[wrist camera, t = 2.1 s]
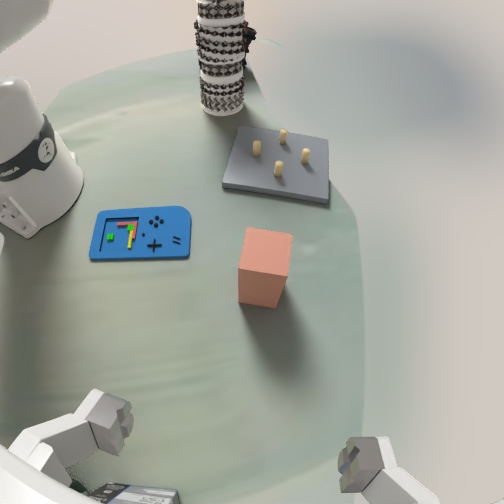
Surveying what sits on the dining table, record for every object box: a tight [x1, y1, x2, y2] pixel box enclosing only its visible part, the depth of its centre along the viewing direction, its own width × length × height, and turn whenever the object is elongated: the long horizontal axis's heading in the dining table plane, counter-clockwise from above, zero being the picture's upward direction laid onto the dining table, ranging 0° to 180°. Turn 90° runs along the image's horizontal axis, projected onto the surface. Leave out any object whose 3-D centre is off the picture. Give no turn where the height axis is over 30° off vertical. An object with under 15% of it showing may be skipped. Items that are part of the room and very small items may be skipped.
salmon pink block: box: [238, 227, 292, 308], centre depth 33 cm, size 5×5×10 cm
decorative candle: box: [194, 0, 248, 116], centre depth 44 cm, size 9×9×25 cm
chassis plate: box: [222, 126, 329, 204], centre depth 46 cm, size 16×14×4 cm
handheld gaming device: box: [89, 206, 191, 260], centre depth 41 cm, size 8×1×15 cm
